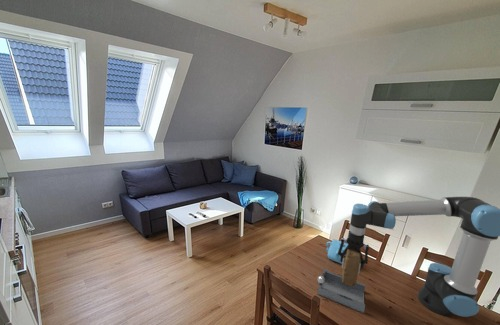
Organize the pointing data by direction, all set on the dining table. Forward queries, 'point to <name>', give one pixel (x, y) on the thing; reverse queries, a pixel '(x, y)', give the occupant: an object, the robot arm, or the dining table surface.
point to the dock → (341, 291)
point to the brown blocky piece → (351, 267)
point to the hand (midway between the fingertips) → (350, 269)
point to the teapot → (335, 250)
